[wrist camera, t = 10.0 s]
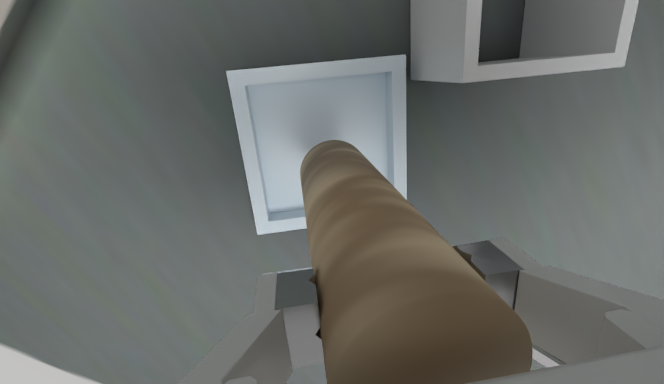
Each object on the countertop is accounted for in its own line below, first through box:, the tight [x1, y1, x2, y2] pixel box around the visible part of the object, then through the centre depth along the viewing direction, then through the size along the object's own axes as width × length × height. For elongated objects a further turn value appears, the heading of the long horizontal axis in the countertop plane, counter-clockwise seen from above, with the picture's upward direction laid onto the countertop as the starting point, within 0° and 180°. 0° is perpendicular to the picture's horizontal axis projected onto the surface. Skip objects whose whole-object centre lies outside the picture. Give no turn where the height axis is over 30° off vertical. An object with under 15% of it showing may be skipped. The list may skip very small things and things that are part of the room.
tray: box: [226, 54, 407, 235], centre depth 25 cm, size 12×12×2 cm
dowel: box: [300, 140, 533, 384], centre depth 13 cm, size 4×4×14 cm
